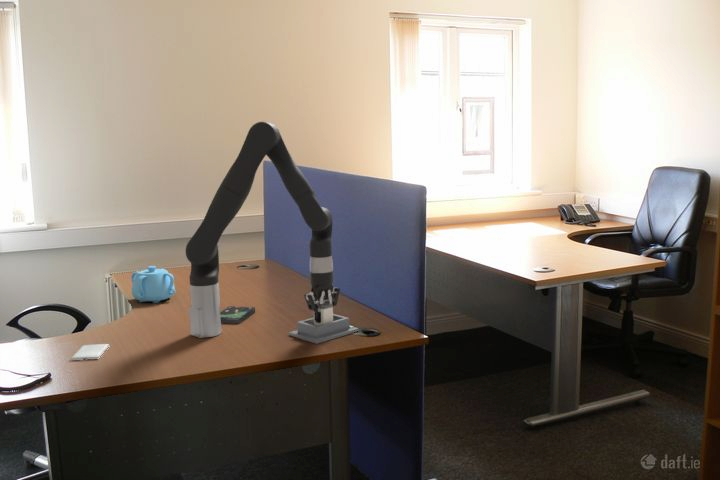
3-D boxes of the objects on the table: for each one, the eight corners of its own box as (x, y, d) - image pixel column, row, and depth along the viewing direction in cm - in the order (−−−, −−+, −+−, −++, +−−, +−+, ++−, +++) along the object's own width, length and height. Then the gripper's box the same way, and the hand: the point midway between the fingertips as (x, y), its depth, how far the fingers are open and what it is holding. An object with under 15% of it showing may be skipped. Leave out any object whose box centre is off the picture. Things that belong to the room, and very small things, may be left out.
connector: (324, 327, 242) (323, 306, 241) (314, 324, 245) (313, 303, 244) (333, 324, 244) (332, 304, 243) (323, 322, 248) (322, 301, 247)
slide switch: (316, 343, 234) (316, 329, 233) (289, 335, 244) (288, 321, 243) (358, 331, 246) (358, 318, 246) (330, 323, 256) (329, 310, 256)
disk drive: (229, 313, 276) (213, 324, 262) (228, 306, 276) (212, 316, 262) (255, 314, 274) (241, 324, 260) (255, 306, 274) (240, 317, 259)
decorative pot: (133, 306, 288) (130, 272, 286) (131, 297, 303) (129, 264, 301) (176, 302, 293) (174, 268, 291) (172, 293, 308) (170, 261, 306)
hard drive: (82, 344, 237) (70, 357, 224) (109, 343, 237) (98, 356, 225) (83, 350, 237) (71, 362, 225) (109, 348, 237) (99, 361, 225)
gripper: (330, 264, 249) (332, 314, 252) (297, 271, 240) (299, 323, 242) (345, 267, 244) (347, 318, 247) (312, 274, 234) (314, 327, 237)
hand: (323, 320), depth 245 cm, fingers closed on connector, 3 cm apart
